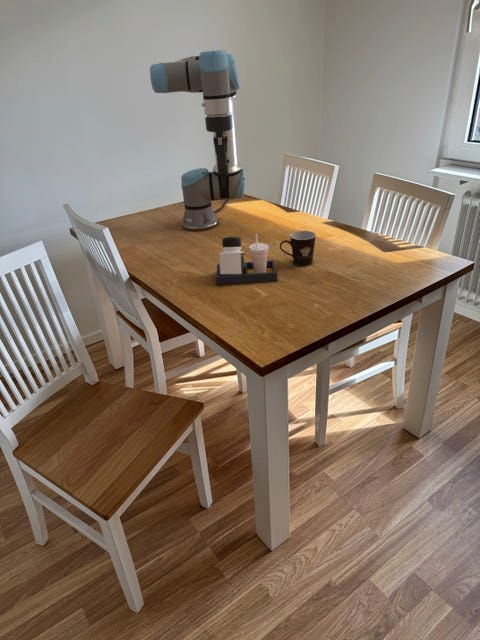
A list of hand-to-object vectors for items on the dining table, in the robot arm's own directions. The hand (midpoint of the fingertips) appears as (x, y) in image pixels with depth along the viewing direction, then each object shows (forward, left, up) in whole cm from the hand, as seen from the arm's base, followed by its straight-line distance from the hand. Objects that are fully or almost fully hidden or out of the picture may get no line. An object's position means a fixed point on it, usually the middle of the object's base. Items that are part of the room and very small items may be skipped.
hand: (225, 191), depth 137 cm
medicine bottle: (+1, 0, -27) cm, 27 cm away
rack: (-2, +4, -29) cm, 29 cm away
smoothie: (-4, +9, -28) cm, 30 cm away
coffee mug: (-17, +18, -29) cm, 38 cm away
